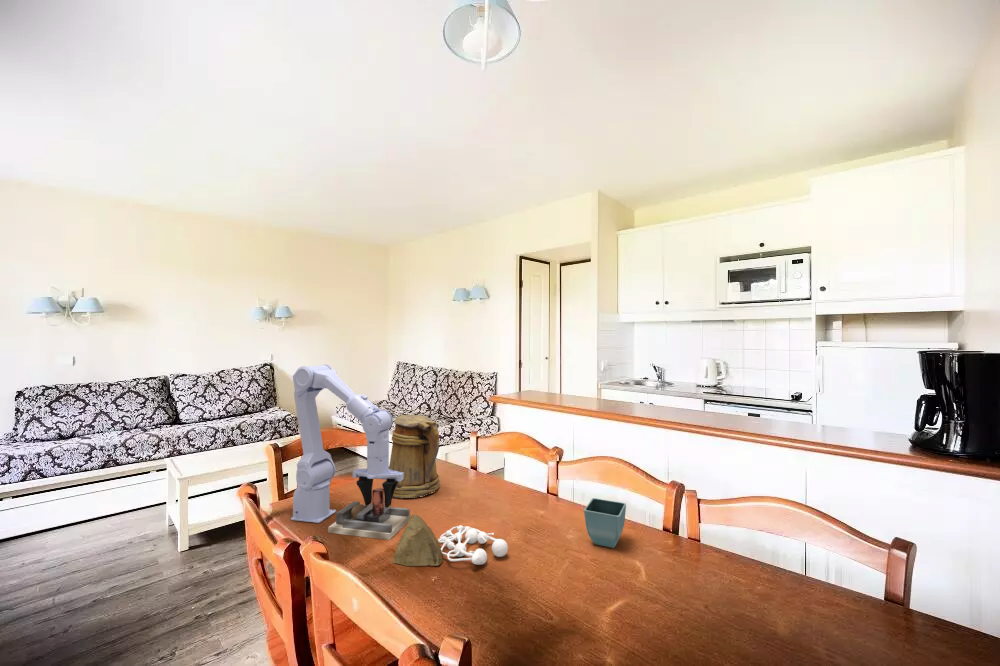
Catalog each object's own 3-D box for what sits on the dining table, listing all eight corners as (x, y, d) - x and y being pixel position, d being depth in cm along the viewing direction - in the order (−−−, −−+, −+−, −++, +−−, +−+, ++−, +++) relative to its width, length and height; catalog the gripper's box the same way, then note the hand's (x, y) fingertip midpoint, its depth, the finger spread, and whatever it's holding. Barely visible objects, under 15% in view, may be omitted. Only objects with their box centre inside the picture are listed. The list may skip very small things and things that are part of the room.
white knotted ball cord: (423, 547, 103) (422, 531, 103) (471, 526, 111) (470, 512, 111) (462, 581, 87) (460, 562, 87) (514, 554, 95) (513, 537, 95)
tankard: (414, 477, 152) (414, 410, 152) (460, 490, 137) (459, 417, 138) (373, 491, 138) (373, 417, 138) (418, 508, 123) (418, 426, 124)
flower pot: (583, 546, 100) (583, 509, 100) (592, 531, 107) (592, 497, 108) (620, 554, 96) (619, 516, 96) (627, 538, 103) (626, 503, 104)
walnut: (348, 521, 111) (348, 507, 111) (356, 515, 115) (356, 501, 115) (361, 523, 110) (361, 508, 110) (369, 516, 114) (369, 502, 114)
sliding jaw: (356, 525, 108) (356, 494, 108) (373, 513, 116) (373, 484, 116) (377, 527, 107) (376, 496, 107) (392, 515, 114) (391, 485, 115)
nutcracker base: (328, 532, 108) (328, 515, 108) (354, 513, 120) (354, 498, 120) (389, 539, 104) (389, 522, 104) (410, 519, 115) (410, 503, 115)
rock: (455, 549, 94) (429, 530, 101) (440, 528, 90) (414, 510, 97) (423, 592, 89) (397, 569, 95) (405, 573, 84) (380, 550, 91)
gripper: (346, 458, 109) (346, 508, 109) (394, 461, 106) (394, 513, 106) (360, 451, 116) (361, 498, 116) (407, 454, 113) (407, 503, 112)
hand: (378, 505), depth 111 cm, fingers open, 5 cm apart
